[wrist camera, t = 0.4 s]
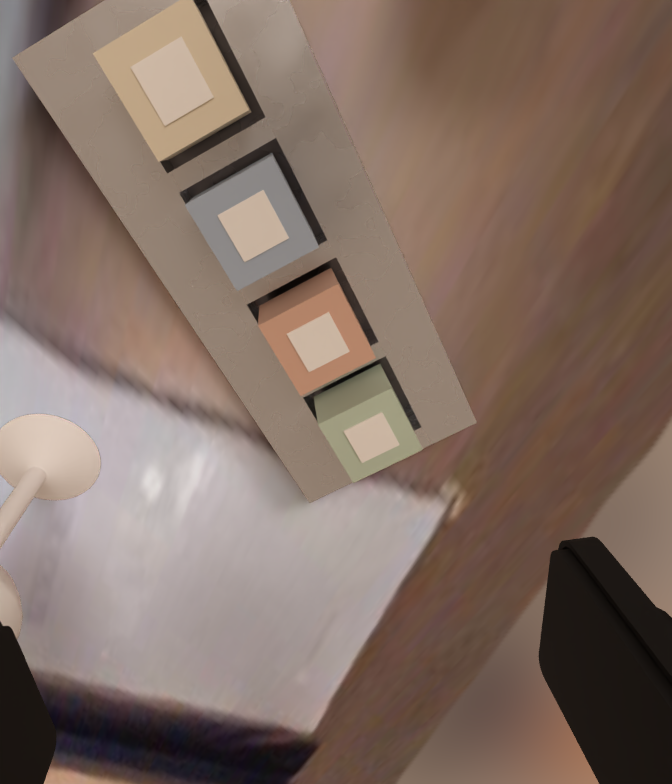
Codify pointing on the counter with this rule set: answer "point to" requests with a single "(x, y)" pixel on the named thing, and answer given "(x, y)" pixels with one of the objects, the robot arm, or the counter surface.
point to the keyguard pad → (311, 189)
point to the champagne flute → (39, 480)
